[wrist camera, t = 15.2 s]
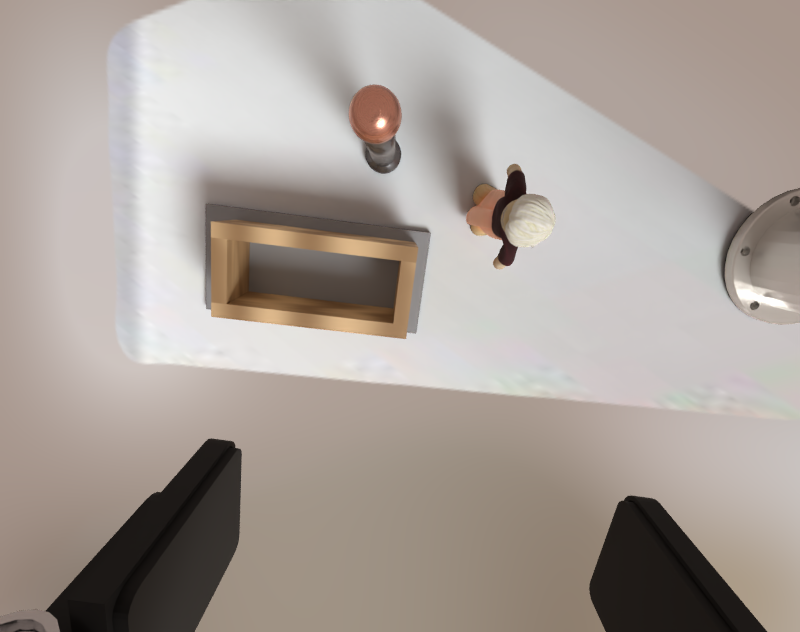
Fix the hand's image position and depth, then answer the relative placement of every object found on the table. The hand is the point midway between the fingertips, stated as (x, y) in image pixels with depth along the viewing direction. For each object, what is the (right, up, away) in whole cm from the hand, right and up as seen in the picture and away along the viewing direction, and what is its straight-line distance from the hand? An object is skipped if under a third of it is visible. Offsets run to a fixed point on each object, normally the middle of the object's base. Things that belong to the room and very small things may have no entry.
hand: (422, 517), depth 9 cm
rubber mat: (-8, +9, +27) cm, 29 cm away
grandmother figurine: (+7, +14, +26) cm, 30 cm away
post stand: (-2, +19, +24) cm, 31 cm away
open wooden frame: (-8, +9, +26) cm, 29 cm away
